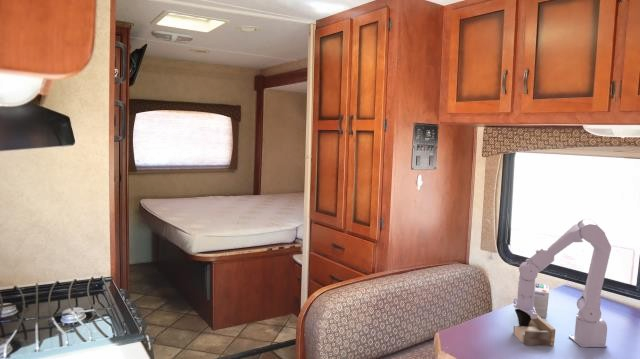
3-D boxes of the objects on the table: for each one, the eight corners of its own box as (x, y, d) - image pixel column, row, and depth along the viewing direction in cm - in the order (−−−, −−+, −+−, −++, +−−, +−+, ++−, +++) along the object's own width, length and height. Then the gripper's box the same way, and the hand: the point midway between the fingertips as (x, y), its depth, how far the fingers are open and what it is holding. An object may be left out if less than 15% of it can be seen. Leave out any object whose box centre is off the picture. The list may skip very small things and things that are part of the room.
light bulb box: (529, 306, 197) (531, 282, 196) (546, 309, 194) (549, 284, 193) (528, 315, 187) (530, 290, 186) (547, 318, 184) (549, 293, 183)
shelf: (529, 323, 180) (530, 308, 179) (554, 345, 162) (555, 329, 161) (503, 323, 180) (504, 308, 179) (525, 345, 162) (526, 329, 161)
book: (534, 333, 171) (535, 326, 171) (544, 342, 164) (544, 334, 164) (513, 333, 171) (514, 326, 171) (522, 342, 164) (522, 334, 164)
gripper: (506, 287, 178) (504, 320, 179) (524, 301, 163) (521, 338, 165) (524, 287, 178) (522, 320, 179) (544, 302, 163) (541, 338, 165)
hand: (523, 329), depth 172 cm, fingers closed
